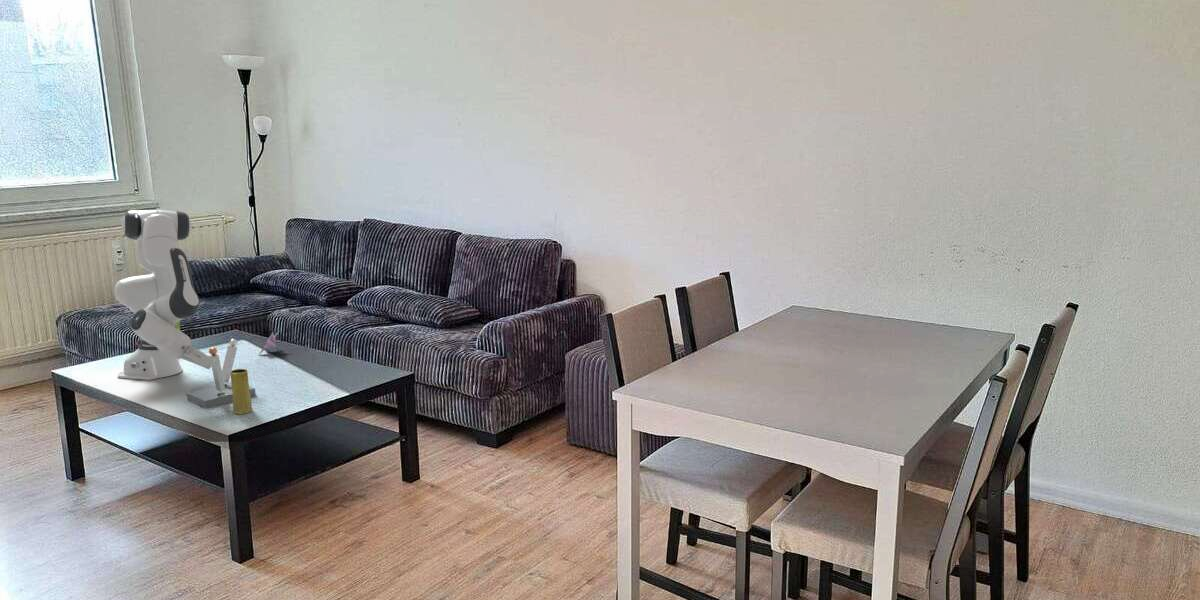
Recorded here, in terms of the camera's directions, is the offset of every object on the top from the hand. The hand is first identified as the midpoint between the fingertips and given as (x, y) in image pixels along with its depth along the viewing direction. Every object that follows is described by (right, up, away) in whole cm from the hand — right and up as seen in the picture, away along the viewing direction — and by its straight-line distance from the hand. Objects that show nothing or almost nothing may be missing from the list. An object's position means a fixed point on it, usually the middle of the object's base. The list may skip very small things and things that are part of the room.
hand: (208, 366), depth 296 cm
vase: (+14, -15, -5) cm, 21 cm away
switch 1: (+2, -8, +4) cm, 10 cm away
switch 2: (-1, -6, +14) cm, 16 cm away
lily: (-4, 0, +66) cm, 67 cm away
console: (0, -12, +10) cm, 15 cm away
